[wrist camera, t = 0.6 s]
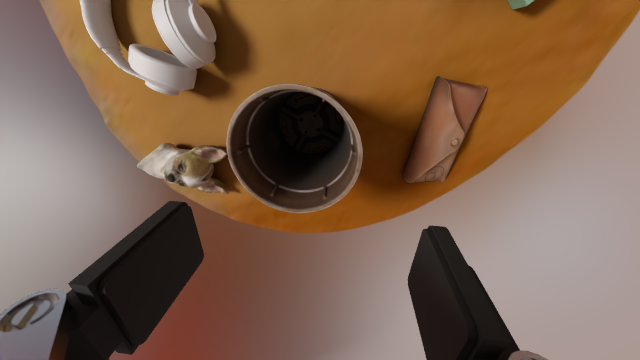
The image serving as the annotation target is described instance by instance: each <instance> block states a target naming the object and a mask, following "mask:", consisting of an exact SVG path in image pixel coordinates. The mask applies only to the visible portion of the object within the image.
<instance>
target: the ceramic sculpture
mask: <svg viewBox="0 0 640 360" xmlns="http://www.w3.org/2000/svg"><path fill="white" fill-rule="evenodd" d="M226 156H228V154H227V151H226V150H224V149H222V148H220V147H216V146H208V145H203V146H197V147H194V148H193V149H192V150H186V149H179V148H177V147H176V146H175V145H173V144H171V143H164V144H161V145H160V146H159V147H158V148H156V149H155V150H154V151H153V152H152V153H150V154H149V155H148V156H146V157H145V158H144V159H143V160H142V161H141V162H140V163H138V165H137V167H138V168H140V169H143V170H144V171H145V172H147V173H148V174H150V175H152V176H155V177H157V178H162V179H166V181H167V182H169V183H174V184H177V185H181V186H184V187H189V188H196V189H198V190H199V191H204V192H207V193H211V192H223V193H226V194H228V193H229V192H228V190H227V189H226V188H225V186H224V185H223V184H222V182H221V181H220V180H218V179H216V178H211V176H212V174H213V170H214V167H213V163H216V162H219V161H221V160H222V159H223V158H225V157H226Z"/></svg>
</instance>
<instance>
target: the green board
mask: <svg viewBox="0 0 640 360" xmlns="http://www.w3.org/2000/svg"><path fill="white" fill-rule="evenodd" d="M533 1H534V0H508V2H509V4H510V6H511V8H512V10H514V9H517V8H521V7H525V6H528V5H529V4H530V3H531V2H533Z"/></svg>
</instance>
